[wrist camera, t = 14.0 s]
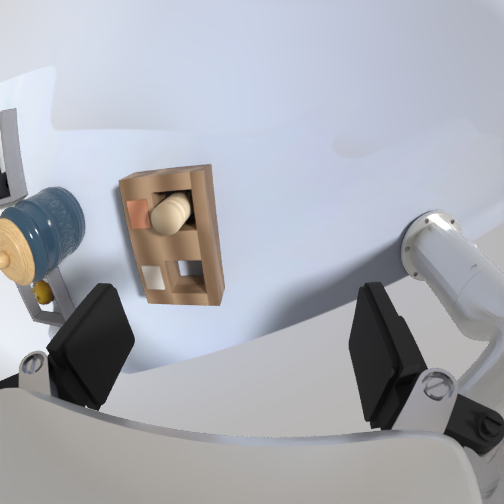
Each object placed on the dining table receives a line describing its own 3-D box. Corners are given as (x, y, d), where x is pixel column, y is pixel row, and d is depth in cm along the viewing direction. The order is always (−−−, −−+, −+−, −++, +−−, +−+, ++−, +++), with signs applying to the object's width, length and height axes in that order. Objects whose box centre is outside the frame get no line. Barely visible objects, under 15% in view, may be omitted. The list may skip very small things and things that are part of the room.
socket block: (211, 164, 37) (202, 171, 32) (224, 287, 46) (219, 306, 41) (134, 172, 38) (117, 181, 34) (158, 286, 47) (147, 304, 42)
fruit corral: (57, 266, 47) (48, 274, 44) (79, 319, 54) (72, 329, 51) (19, 265, 49) (11, 272, 46) (40, 313, 55) (33, 321, 52)
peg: (196, 186, 39) (178, 203, 32) (199, 212, 41) (183, 234, 33) (170, 188, 39) (148, 205, 32) (174, 214, 41) (154, 235, 34)
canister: (98, 226, 43) (34, 280, 27) (66, 261, 47) (12, 313, 31) (58, 170, 38) (-16, 204, 23) (31, 212, 42) (-30, 252, 27)
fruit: (29, 266, 49) (20, 274, 46) (54, 280, 50) (45, 289, 46) (33, 292, 53) (25, 301, 49) (56, 307, 53) (48, 316, 50)
